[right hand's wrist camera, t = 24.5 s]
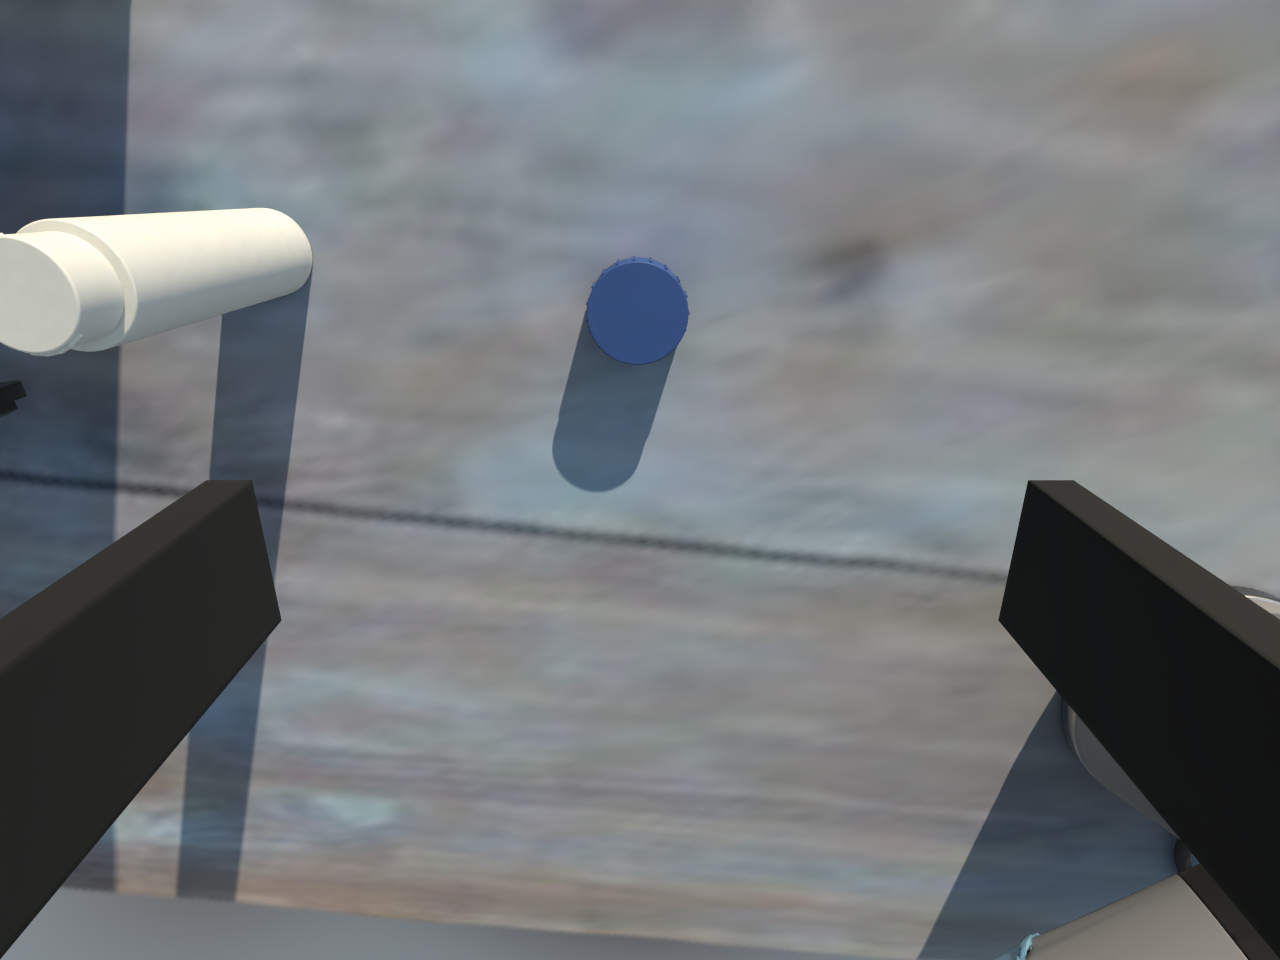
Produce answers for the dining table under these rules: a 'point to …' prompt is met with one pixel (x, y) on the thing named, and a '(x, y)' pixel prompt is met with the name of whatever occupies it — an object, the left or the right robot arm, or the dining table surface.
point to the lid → (637, 311)
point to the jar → (141, 274)
